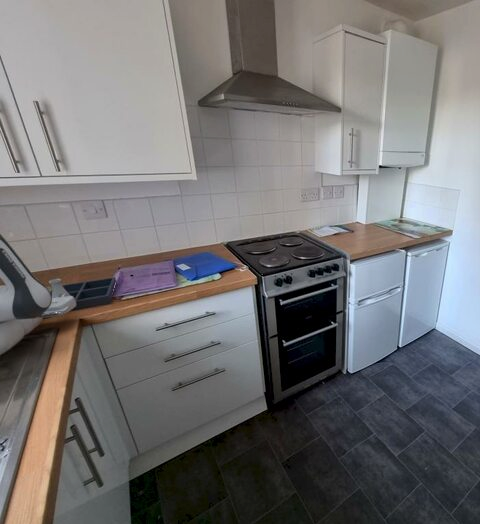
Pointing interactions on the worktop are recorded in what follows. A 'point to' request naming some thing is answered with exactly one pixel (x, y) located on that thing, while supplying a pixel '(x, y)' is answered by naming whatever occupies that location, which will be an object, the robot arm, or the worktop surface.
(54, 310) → the robot arm
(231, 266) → the worktop surface
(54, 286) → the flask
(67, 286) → the grid
